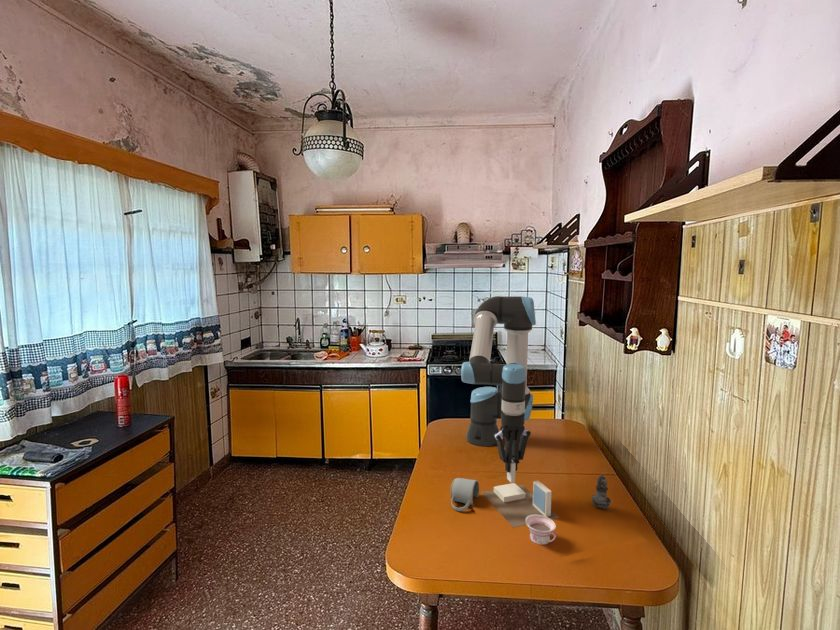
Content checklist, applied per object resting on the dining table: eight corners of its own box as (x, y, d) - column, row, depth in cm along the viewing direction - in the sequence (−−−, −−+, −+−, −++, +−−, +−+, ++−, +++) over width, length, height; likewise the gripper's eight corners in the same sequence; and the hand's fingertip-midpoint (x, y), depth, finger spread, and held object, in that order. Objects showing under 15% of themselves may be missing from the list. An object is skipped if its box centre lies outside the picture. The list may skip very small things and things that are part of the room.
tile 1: (514, 488, 148) (493, 492, 146) (514, 482, 148) (493, 486, 146) (525, 498, 142) (504, 502, 139) (525, 493, 142) (504, 497, 139)
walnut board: (480, 495, 146) (480, 491, 146) (521, 487, 151) (521, 484, 151) (513, 531, 126) (513, 527, 126) (559, 521, 132) (559, 517, 131)
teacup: (509, 542, 122) (510, 521, 121) (533, 525, 130) (534, 505, 129) (547, 563, 113) (548, 541, 112) (570, 544, 121) (571, 523, 120)
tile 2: (532, 505, 138) (532, 481, 137) (537, 504, 139) (538, 480, 138) (545, 517, 132) (546, 492, 131) (550, 515, 132) (551, 491, 131)
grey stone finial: (586, 506, 139) (588, 471, 138) (600, 503, 142) (602, 468, 140) (600, 516, 134) (602, 480, 133) (614, 512, 136) (616, 476, 135)
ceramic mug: (456, 493, 148) (456, 471, 147) (479, 498, 144) (479, 476, 143) (445, 509, 138) (445, 487, 137) (470, 515, 135) (470, 492, 134)
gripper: (501, 418, 135) (499, 489, 138) (536, 413, 139) (534, 482, 142) (489, 410, 142) (488, 478, 145) (523, 406, 146) (521, 472, 149)
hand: (510, 480), depth 143 cm, fingers closed
